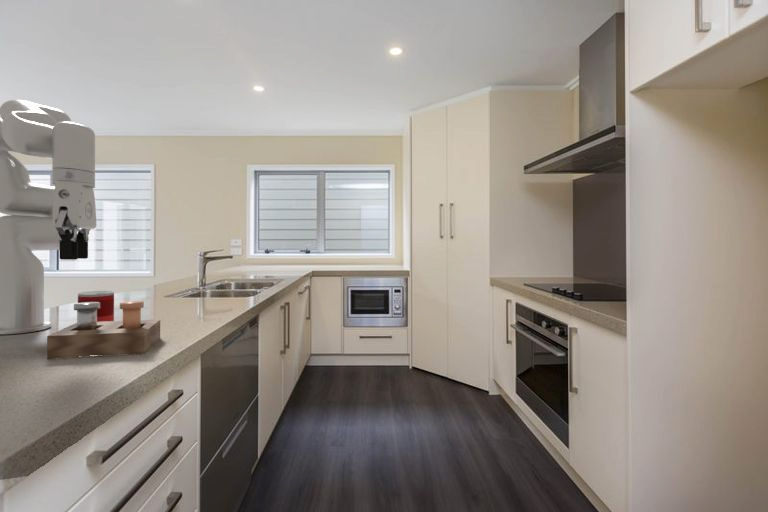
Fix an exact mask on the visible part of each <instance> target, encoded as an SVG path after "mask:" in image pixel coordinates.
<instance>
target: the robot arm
mask: <svg viewBox="0 0 768 512" xmlns="http://www.w3.org/2000/svg"><path fill="white" fill-rule="evenodd" d="M10 152H12V153H18V154H21V155H26V156H31V157H39V158H45V159H50V160H52V163H51V164H52V167H51V168H52V175H51V176H52V177H51V179H52V180H51V183H52V186H50V185H45V184H38V183H33V182H32V181H31V179H30V174H29V171H28V168H26V166H25V165H24V164H23V163H22V162H21V161H20V160H19V159H17V158H16V157H15V156H14V155H12V154H11V153H10ZM53 185H54V186H53ZM95 188H96V134H95V132H94V130H93V129H92V128H90V127H89V126H86V125H83V124H80V123H75V122H73V121H72V120H71V117H70V116H69V115H68V114H67V113H66V112H65V111H62V110H61V109H58V108H54V107H50V106H47V105H42V104H40V103H39V104H38V103H36V102H35V103H34V102H31V101H28V100H23V99H22V100H21V99H9V100H7V101H5V102H3V103H2V104H1V106H0V213H1V214H3V216H0V335H15V334H17V335H18V334H26V333H33V332H39V331H42V330H47V329H50V328H51V327H52V322H51V321H49V320H48V321H47V320H45V266H44V264H43V262H42V261H41V259H39V258H38V256H37V255H35V254H34V253H33V251H59V260H66V261H67V260H71V261H75V260H78V259H83V260H85V259H88V258H89V238H90V237H89V234H90V231H91V230H93V229H95V228H97V209H96V208H97V207H96V197H95V191H94V189H95Z"/></svg>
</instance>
